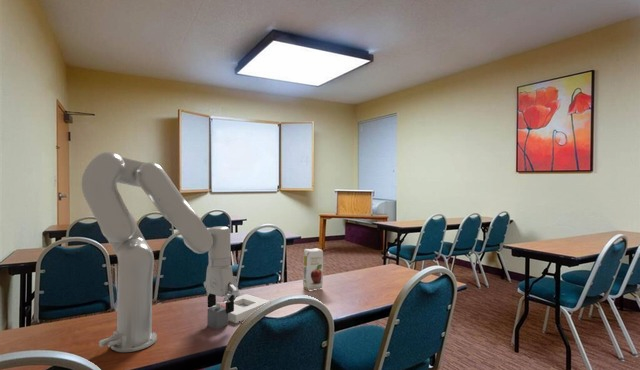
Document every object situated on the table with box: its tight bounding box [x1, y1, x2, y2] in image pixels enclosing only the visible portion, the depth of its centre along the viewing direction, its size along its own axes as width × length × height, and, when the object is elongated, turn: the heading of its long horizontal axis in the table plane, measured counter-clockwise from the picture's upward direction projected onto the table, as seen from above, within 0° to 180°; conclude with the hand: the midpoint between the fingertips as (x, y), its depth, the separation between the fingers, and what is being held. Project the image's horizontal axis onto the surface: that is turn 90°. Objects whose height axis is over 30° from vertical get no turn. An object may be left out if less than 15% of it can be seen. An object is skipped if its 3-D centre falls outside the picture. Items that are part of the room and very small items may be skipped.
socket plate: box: [210, 293, 271, 324], centre depth 133 cm, size 18×14×4 cm
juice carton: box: [302, 247, 324, 291], centre depth 163 cm, size 8×9×19 cm
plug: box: [206, 301, 229, 330], centre depth 120 cm, size 5×5×8 cm
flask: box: [222, 275, 241, 302], centre depth 145 cm, size 7×7×10 cm
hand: (220, 309), depth 121 cm, fingers open, 9 cm apart
